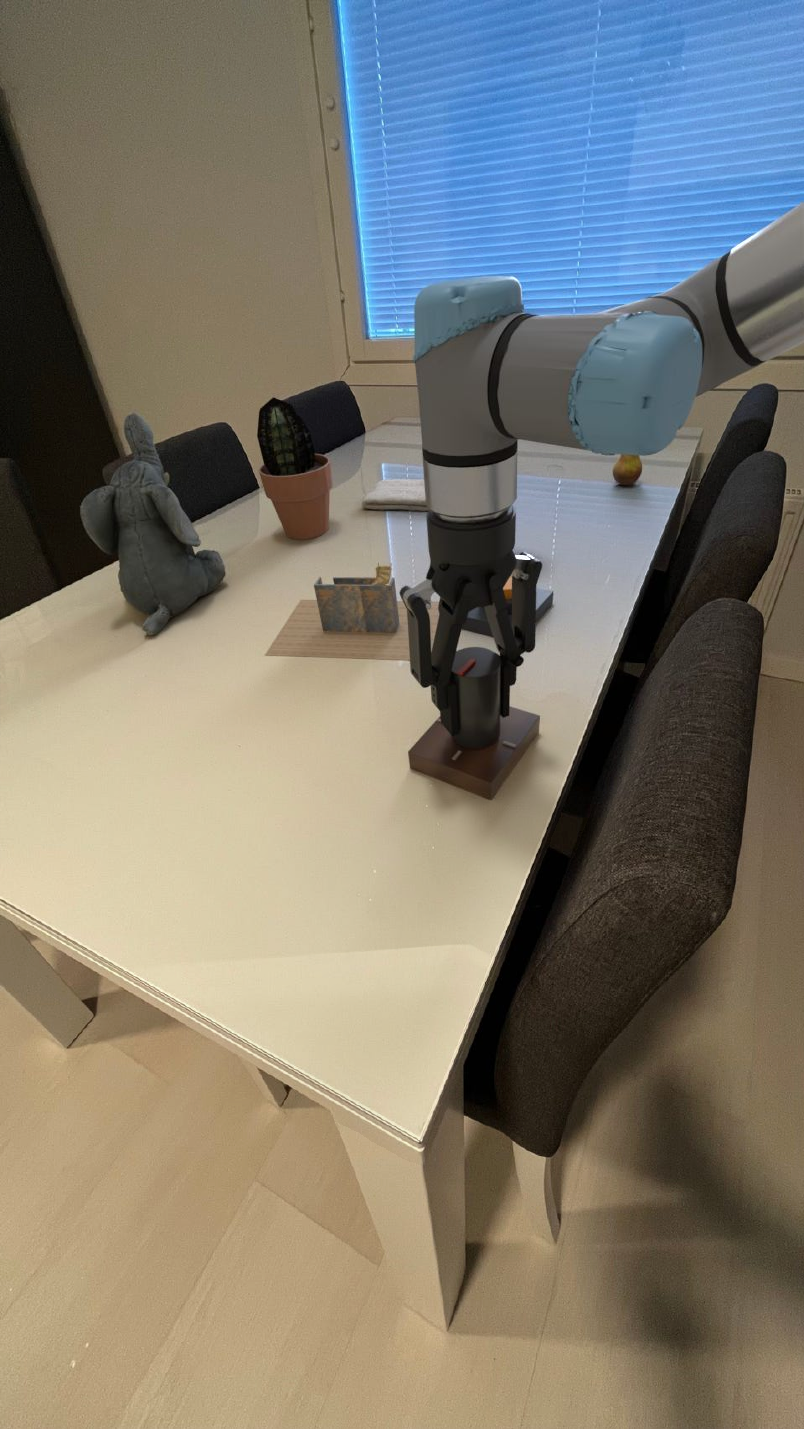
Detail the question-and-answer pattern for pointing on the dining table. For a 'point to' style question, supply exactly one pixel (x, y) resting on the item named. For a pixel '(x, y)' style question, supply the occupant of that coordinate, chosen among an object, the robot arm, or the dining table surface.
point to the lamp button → (508, 589)
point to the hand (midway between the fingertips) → (474, 718)
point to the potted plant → (293, 471)
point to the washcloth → (397, 495)
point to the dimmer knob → (477, 696)
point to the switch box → (479, 619)
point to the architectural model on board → (351, 621)
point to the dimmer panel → (475, 754)
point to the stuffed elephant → (150, 534)
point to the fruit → (627, 469)
